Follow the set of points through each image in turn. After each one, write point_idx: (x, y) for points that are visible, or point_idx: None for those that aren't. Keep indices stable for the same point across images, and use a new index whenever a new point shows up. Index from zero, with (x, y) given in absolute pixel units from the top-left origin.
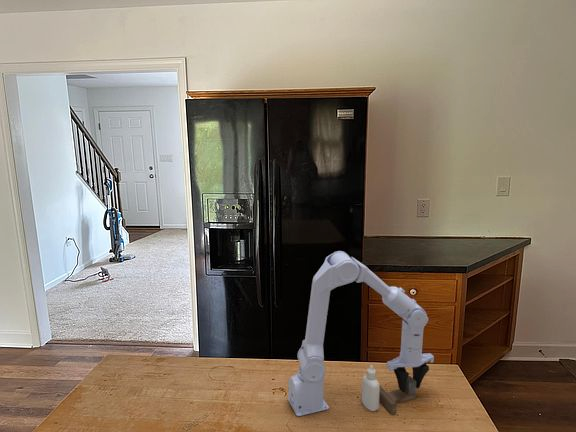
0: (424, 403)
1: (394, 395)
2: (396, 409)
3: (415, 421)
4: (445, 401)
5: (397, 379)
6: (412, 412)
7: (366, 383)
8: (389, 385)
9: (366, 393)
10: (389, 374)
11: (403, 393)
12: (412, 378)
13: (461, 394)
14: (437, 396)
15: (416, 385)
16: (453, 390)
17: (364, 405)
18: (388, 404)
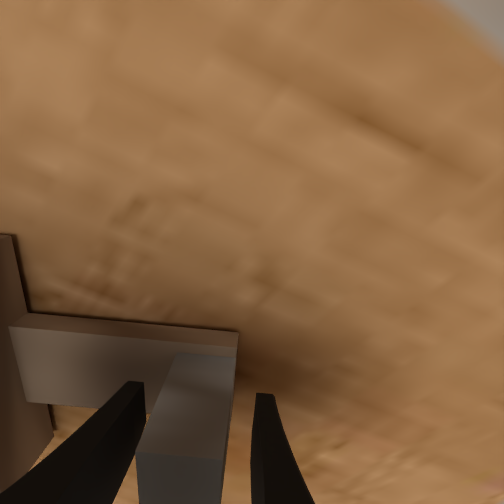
0: (248, 432)
1: (89, 374)
2: (37, 458)
3: (121, 486)
4: (363, 459)
5: (65, 446)
6: None
7: None
8: (157, 229)
9: None
10: (252, 93)
11: (159, 382)
12: (215, 492)
13: (495, 458)
14: (362, 423)
15: (252, 441)
16: (496, 424)
17: None
18: None
